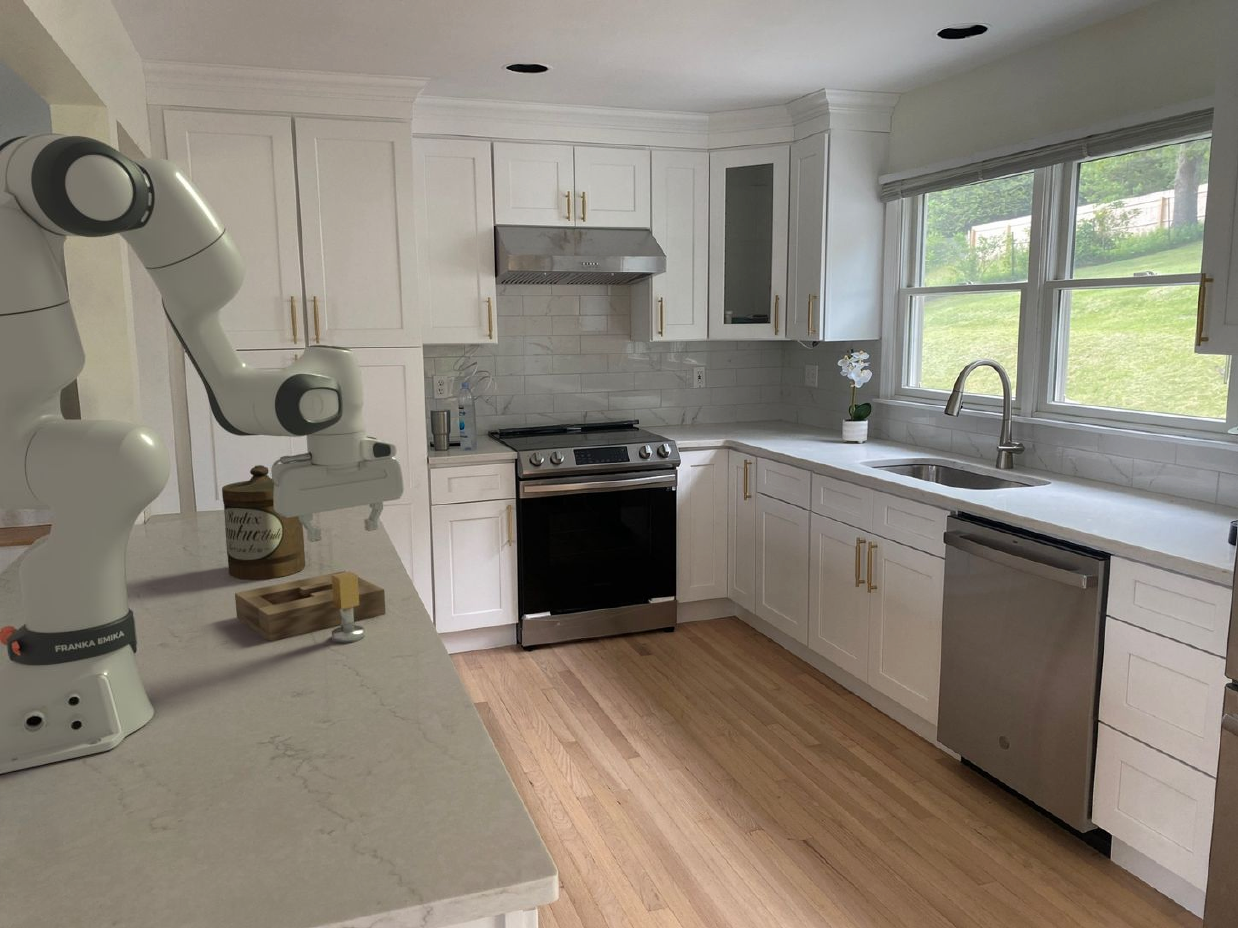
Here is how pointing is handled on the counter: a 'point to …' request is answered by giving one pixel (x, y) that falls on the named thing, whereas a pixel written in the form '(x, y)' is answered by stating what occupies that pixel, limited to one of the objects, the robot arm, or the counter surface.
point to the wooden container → (260, 531)
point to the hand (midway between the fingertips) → (343, 535)
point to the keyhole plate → (302, 606)
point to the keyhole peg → (346, 607)
